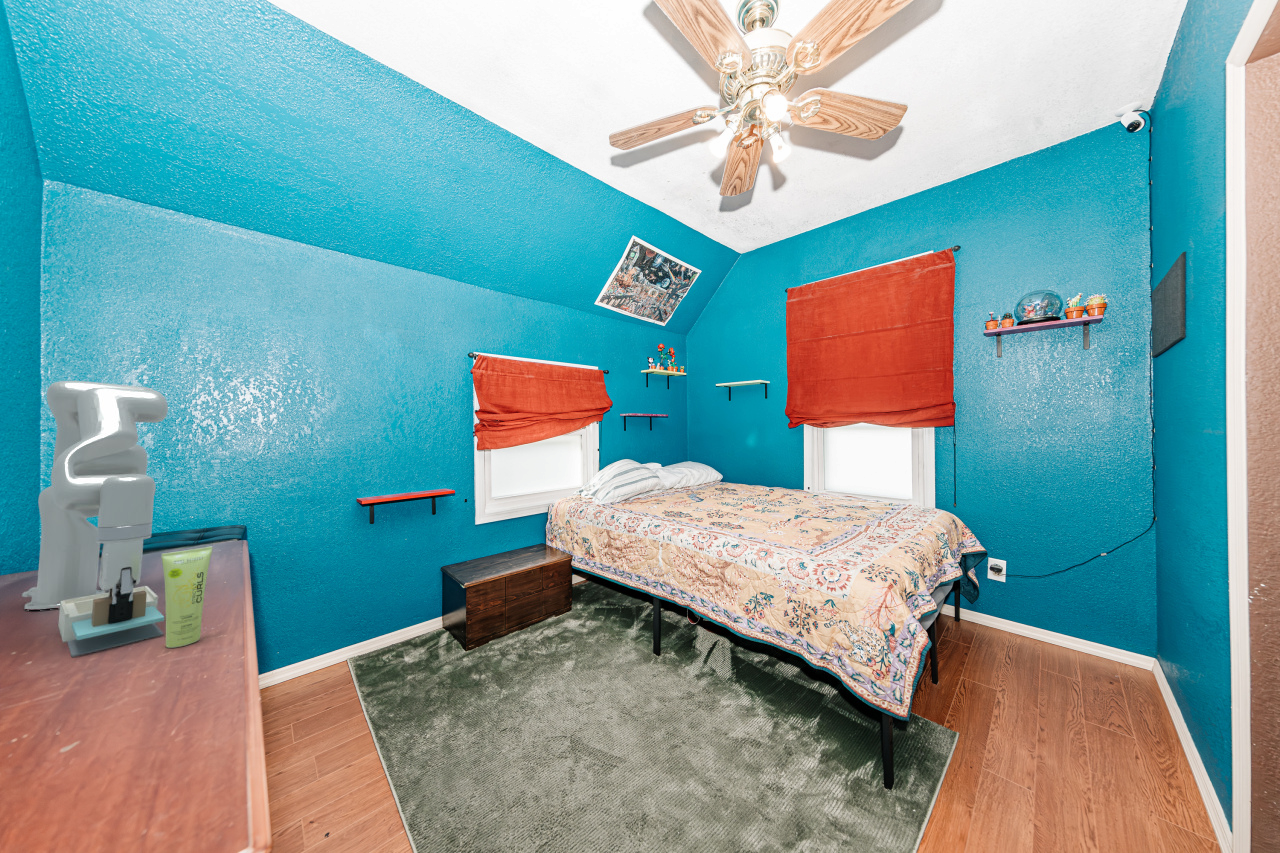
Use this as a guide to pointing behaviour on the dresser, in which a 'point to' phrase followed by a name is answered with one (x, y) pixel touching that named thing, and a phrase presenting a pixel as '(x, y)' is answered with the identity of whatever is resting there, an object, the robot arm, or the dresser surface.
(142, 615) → the lid
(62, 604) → the box
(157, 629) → the mat
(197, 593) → the tube
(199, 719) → the dresser surface
